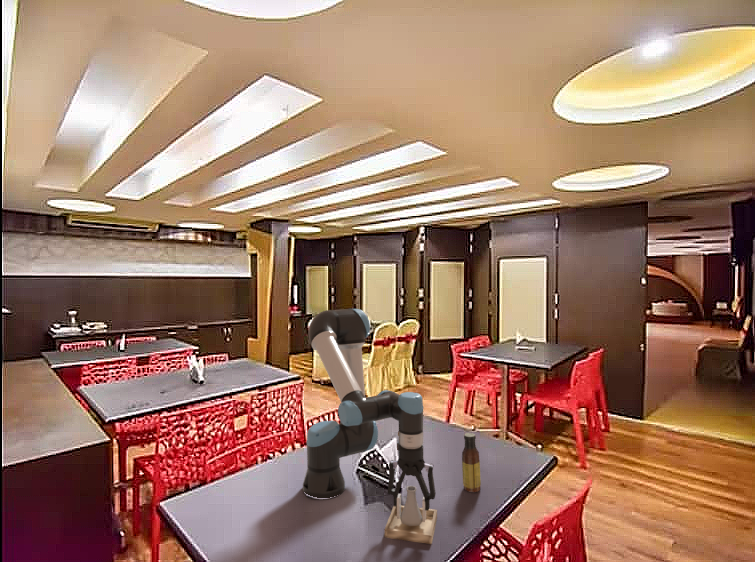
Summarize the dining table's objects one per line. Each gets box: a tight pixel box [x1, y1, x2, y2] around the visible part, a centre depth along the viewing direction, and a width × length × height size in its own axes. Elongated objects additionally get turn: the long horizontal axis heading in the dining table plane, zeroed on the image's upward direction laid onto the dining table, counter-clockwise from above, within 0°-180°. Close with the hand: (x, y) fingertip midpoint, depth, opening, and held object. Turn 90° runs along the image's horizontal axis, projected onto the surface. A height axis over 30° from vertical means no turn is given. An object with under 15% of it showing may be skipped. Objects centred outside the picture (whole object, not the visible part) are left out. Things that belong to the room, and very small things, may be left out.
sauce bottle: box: [461, 432, 482, 493], centre depth 157 cm, size 6×6×20 cm
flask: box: [400, 485, 423, 526], centre depth 134 cm, size 7×7×10 cm
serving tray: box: [383, 504, 438, 545], centre depth 135 cm, size 14×14×2 cm
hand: (411, 517), depth 135 cm, fingers closed on flask, 7 cm apart
